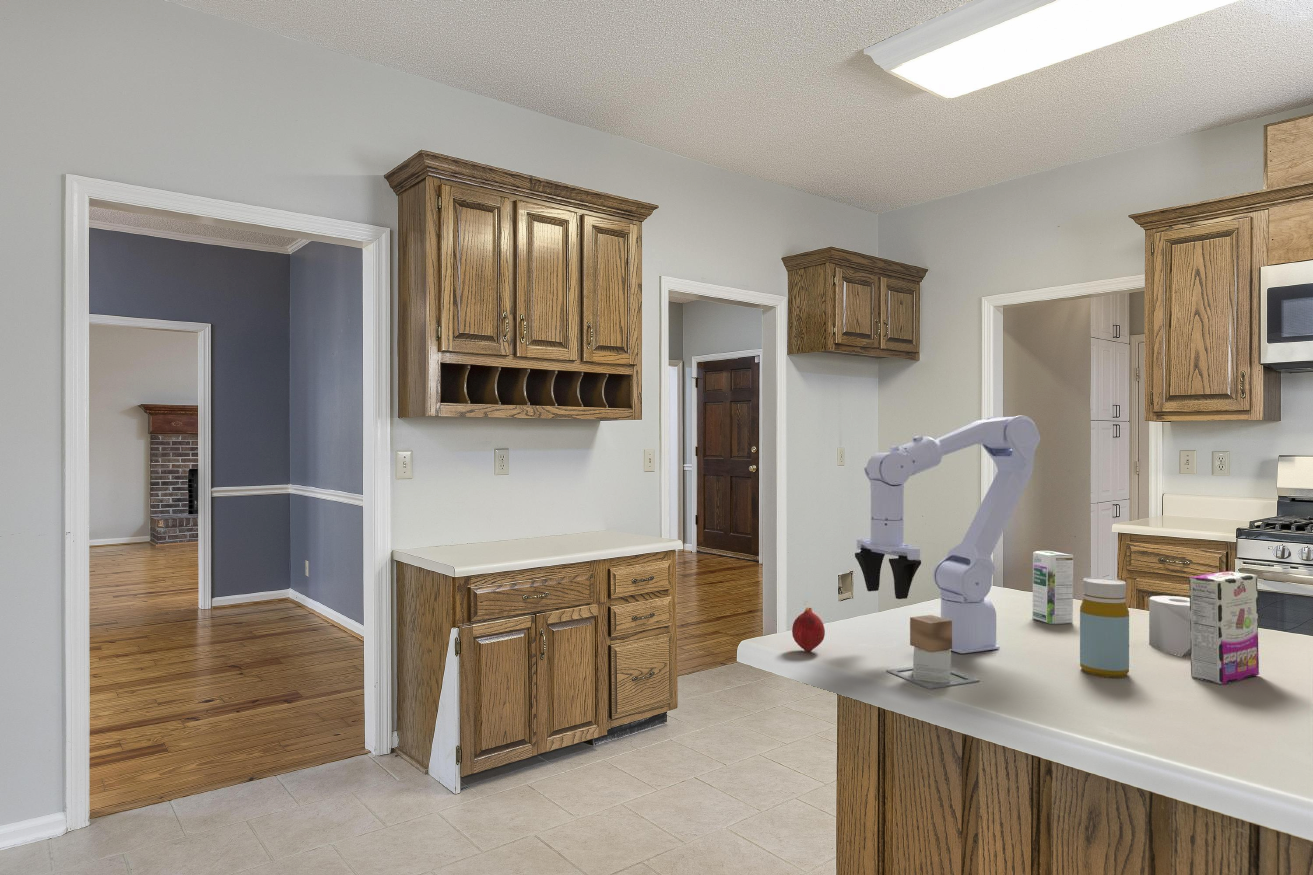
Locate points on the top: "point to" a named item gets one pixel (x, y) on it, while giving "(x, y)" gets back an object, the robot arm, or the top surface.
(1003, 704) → the top surface
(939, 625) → the walnut cube
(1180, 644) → the toilet tissue
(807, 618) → the onion
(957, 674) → the gray square frame
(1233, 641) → the candy bar box
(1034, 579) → the syrup box
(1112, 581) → the bottle
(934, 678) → the small box
